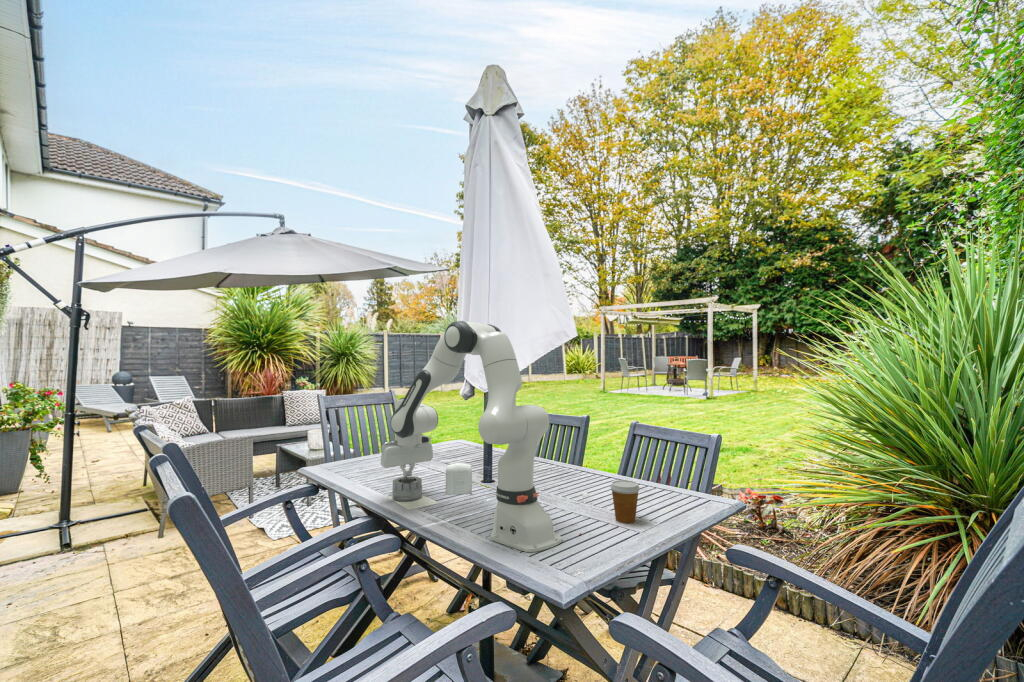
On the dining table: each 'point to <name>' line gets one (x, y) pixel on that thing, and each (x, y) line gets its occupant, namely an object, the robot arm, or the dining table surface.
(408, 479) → the cap
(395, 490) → the grey castle nut
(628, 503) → the disposable coffee cup
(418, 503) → the board
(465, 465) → the photo printer
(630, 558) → the dining table surface
